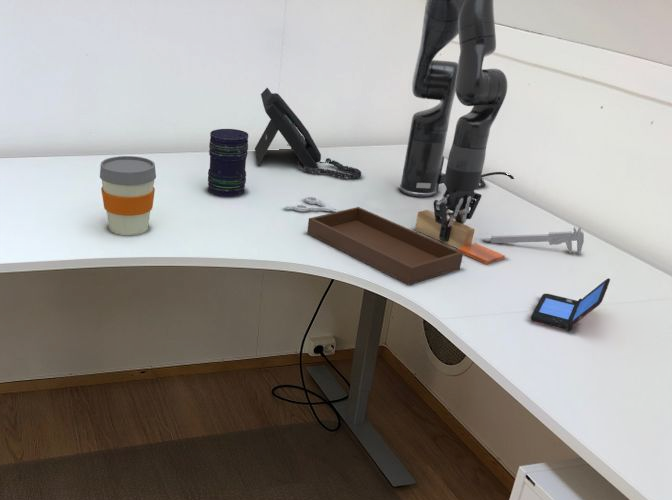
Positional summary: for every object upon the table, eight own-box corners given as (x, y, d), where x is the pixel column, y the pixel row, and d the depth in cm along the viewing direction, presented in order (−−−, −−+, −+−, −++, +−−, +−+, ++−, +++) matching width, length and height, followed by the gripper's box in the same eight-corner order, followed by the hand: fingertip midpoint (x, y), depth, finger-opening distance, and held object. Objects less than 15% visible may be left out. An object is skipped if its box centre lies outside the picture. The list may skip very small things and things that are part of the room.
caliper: (579, 253, 178) (587, 227, 175) (579, 255, 177) (587, 229, 174) (484, 240, 183) (490, 215, 180) (484, 242, 182) (490, 216, 179)
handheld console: (541, 297, 158) (551, 263, 154) (599, 311, 153) (611, 277, 149) (528, 321, 149) (538, 286, 145) (589, 338, 144) (601, 301, 140)
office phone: (362, 180, 218) (373, 106, 208) (260, 177, 218) (265, 102, 207) (346, 150, 243) (355, 82, 233) (254, 146, 243) (259, 78, 233)
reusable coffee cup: (131, 214, 191) (130, 152, 183) (166, 229, 183) (167, 165, 175) (90, 226, 183) (87, 162, 175) (125, 242, 175) (124, 176, 168)
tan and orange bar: (427, 226, 190) (431, 208, 187) (504, 258, 174) (509, 239, 172) (410, 231, 187) (413, 212, 184) (486, 264, 171) (491, 245, 169)
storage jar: (201, 193, 205) (203, 135, 197) (214, 182, 213) (217, 126, 205) (237, 199, 202) (241, 141, 194) (250, 188, 209) (254, 131, 202)
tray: (356, 221, 191) (358, 206, 189) (459, 269, 169) (463, 252, 167) (306, 233, 183) (308, 218, 181) (408, 285, 161) (411, 268, 159)
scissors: (302, 194, 204) (377, 209, 196) (302, 197, 204) (376, 212, 196) (285, 206, 196) (362, 222, 188) (285, 209, 196) (361, 225, 188)
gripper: (456, 174, 167) (441, 250, 176) (500, 165, 173) (482, 238, 182) (429, 165, 172) (415, 239, 181) (472, 156, 179) (457, 228, 188)
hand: (449, 238), depth 182 cm, fingers closed on tan and orange bar, 3 cm apart
